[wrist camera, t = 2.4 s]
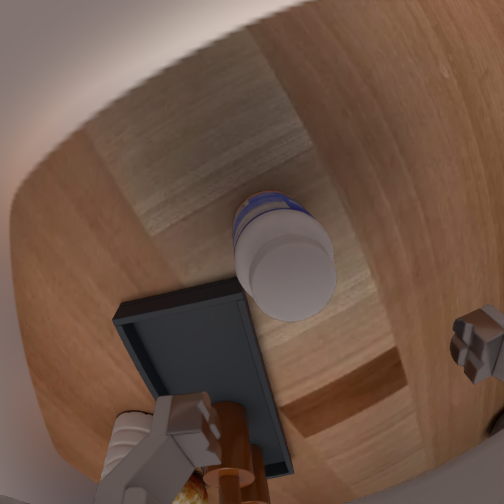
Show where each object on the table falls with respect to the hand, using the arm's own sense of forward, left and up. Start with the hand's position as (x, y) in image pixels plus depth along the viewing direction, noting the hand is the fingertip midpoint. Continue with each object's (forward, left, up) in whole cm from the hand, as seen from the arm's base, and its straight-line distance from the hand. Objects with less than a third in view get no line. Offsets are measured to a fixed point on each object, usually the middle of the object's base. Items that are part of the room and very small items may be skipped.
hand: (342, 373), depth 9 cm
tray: (-8, -17, -16) cm, 24 cm away
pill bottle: (0, 0, -16) cm, 16 cm away
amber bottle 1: (-8, -18, -15) cm, 25 cm away
